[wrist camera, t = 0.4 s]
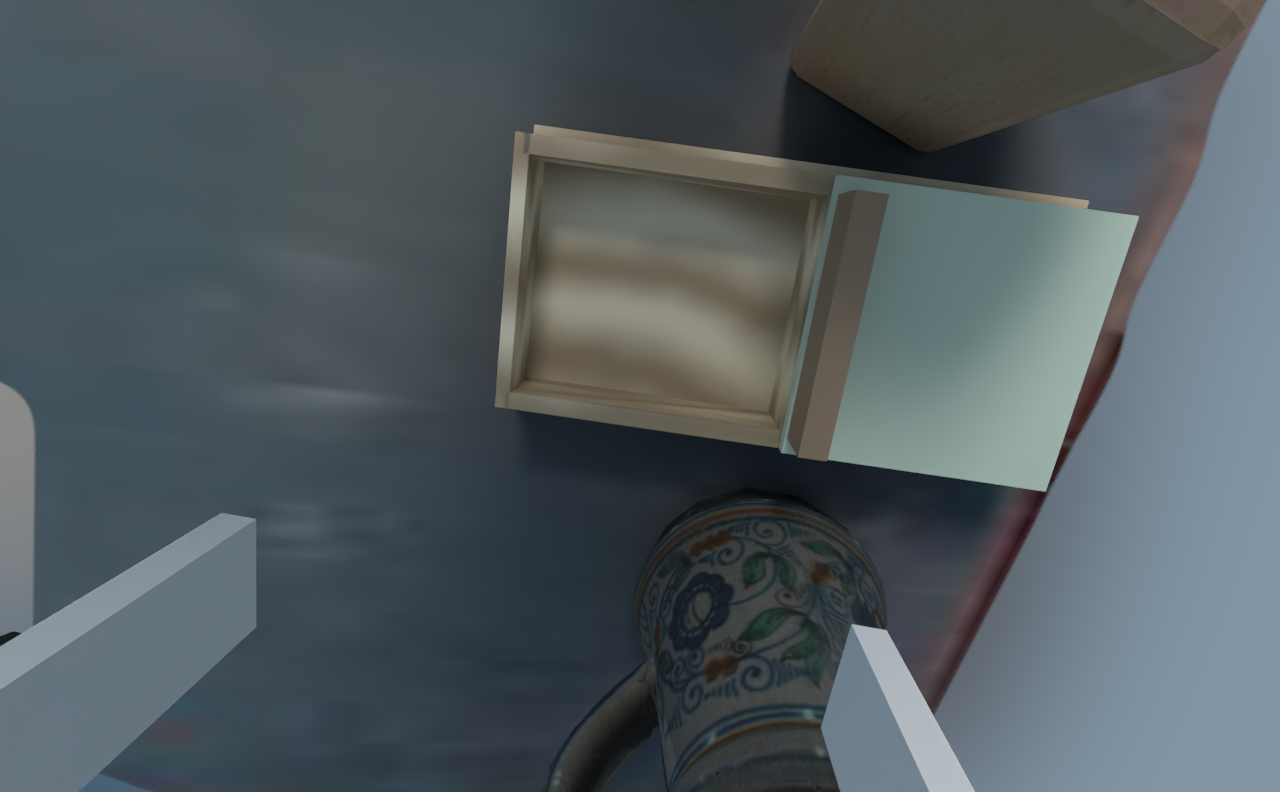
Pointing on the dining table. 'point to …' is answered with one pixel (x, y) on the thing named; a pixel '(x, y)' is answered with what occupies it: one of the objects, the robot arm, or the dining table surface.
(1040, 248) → the lid
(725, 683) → the beer stein
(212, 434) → the dining table surface
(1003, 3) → the wooden block
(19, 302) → the dining table surface
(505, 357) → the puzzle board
